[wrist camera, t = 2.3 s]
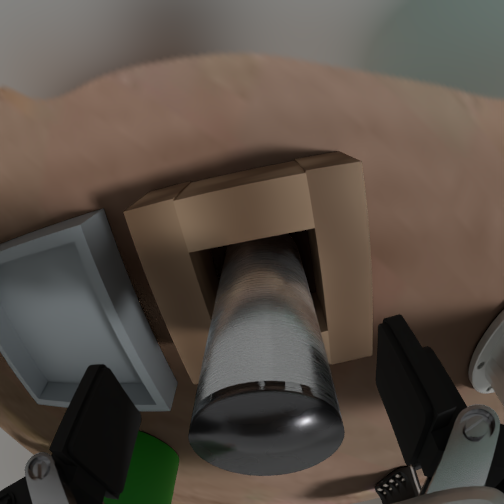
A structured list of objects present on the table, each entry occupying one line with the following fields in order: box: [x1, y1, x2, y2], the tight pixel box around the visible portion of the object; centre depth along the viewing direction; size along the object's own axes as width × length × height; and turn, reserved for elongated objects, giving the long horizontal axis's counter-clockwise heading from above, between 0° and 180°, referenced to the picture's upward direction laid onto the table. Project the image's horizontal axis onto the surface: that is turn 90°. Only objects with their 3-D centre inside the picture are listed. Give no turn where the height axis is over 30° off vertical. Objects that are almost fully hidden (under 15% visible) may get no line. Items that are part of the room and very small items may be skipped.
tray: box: [0, 208, 178, 411], centre depth 20 cm, size 15×15×3 cm
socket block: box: [123, 152, 373, 384], centre depth 17 cm, size 11×11×4 cm
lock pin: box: [189, 233, 344, 476], centre depth 13 cm, size 4×4×12 cm
